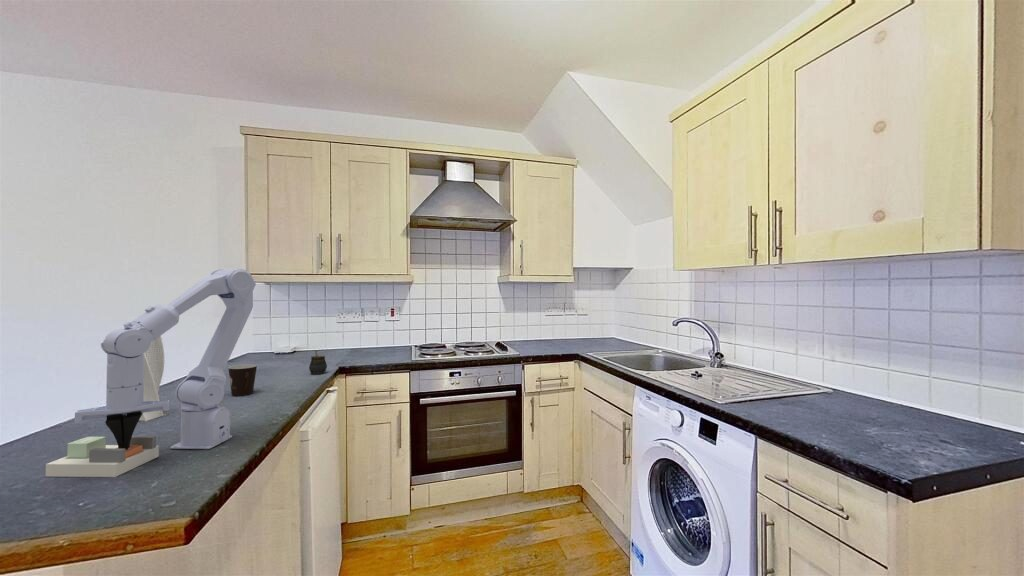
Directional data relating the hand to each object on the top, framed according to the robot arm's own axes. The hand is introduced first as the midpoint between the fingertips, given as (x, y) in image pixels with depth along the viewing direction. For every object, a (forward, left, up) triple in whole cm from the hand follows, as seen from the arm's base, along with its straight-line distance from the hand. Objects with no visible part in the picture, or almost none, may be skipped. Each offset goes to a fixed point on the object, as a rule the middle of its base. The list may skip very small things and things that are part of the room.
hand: (124, 448), depth 86 cm
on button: (+8, 0, -1) cm, 8 cm away
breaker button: (0, 0, -3) cm, 3 cm away
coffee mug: (+14, -58, -4) cm, 60 cm away
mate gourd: (+5, -96, -4) cm, 96 cm away
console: (+4, 0, -4) cm, 5 cm away
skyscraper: (+24, -32, -4) cm, 40 cm away
